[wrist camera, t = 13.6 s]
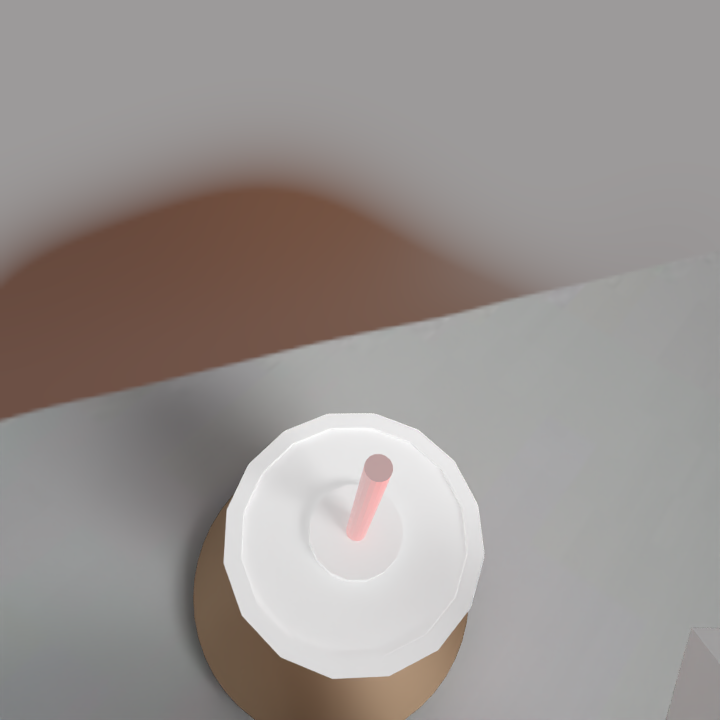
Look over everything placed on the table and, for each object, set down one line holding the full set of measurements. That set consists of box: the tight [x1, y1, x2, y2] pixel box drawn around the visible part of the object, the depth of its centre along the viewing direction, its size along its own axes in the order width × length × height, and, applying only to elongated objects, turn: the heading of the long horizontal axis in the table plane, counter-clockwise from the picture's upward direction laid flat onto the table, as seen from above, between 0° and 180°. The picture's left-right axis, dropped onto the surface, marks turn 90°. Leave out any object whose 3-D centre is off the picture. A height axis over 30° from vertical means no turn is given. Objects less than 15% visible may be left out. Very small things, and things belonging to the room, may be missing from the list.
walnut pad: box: [193, 495, 468, 720], centre depth 23 cm, size 10×10×1 cm
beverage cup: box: [224, 413, 485, 679], centre depth 16 cm, size 6×6×14 cm
